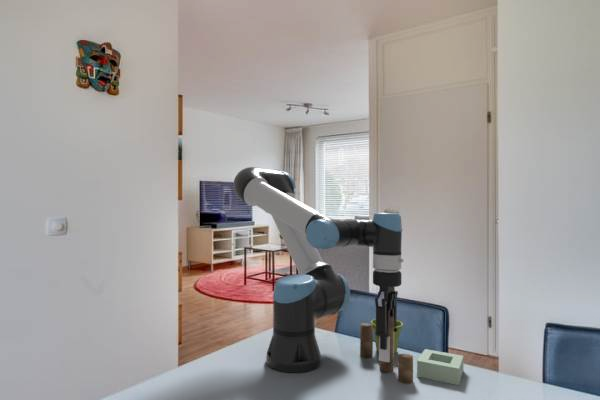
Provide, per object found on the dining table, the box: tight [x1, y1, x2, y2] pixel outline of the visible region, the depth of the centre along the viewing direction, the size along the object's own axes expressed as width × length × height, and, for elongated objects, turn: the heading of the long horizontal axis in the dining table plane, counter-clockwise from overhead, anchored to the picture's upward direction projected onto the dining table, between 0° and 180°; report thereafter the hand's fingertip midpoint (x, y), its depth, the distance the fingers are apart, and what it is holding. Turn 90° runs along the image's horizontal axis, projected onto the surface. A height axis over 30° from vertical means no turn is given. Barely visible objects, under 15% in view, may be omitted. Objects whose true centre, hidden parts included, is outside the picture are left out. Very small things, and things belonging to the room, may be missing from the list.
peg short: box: [397, 353, 414, 385], centre depth 97 cm, size 4×4×6 cm
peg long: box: [379, 316, 395, 374], centre depth 103 cm, size 4×4×14 cm
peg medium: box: [359, 322, 374, 359], centre depth 113 cm, size 4×4×9 cm
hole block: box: [416, 348, 464, 386], centre depth 101 cm, size 10×10×4 cm
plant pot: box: [370, 318, 404, 354], centre depth 117 cm, size 9×9×9 cm
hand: (386, 358), depth 103 cm, fingers closed on peg long, 3 cm apart
